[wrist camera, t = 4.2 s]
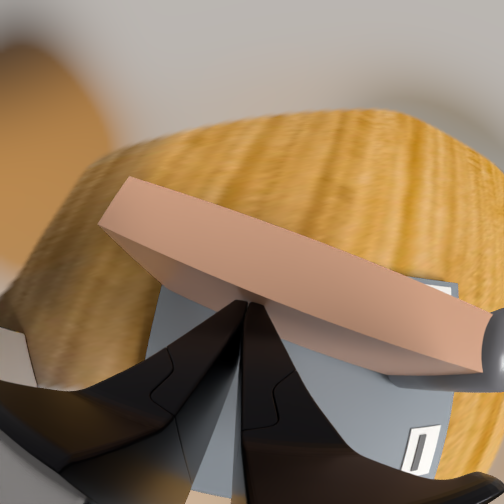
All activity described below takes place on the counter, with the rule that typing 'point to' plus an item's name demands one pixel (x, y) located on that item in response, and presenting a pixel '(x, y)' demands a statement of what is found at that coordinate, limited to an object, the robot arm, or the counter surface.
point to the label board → (325, 402)
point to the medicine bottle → (15, 358)
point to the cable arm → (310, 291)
